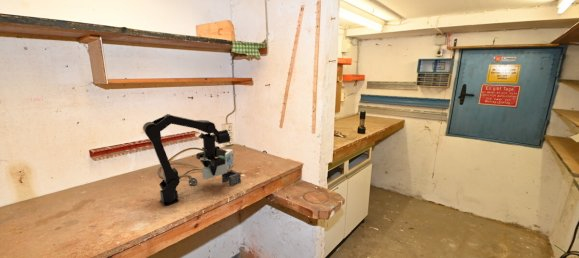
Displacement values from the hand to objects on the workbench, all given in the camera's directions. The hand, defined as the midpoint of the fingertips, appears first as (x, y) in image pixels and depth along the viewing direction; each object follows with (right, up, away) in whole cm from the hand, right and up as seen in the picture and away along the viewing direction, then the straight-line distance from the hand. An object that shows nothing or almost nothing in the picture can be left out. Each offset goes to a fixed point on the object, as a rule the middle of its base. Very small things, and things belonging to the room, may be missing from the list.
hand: (211, 174), depth 133 cm
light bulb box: (0, -1, +33) cm, 33 cm away
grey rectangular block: (+1, -1, +2) cm, 2 cm away
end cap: (+8, -7, +10) cm, 14 cm away
